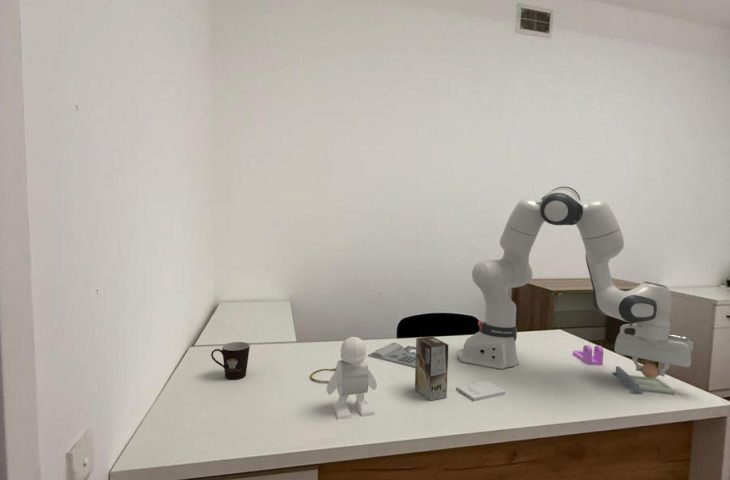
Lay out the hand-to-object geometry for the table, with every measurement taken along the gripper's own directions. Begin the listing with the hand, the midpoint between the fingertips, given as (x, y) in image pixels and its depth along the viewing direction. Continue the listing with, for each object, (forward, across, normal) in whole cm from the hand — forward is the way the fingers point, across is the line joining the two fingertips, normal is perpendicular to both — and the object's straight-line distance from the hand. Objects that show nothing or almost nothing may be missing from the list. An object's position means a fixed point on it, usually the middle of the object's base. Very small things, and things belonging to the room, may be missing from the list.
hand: (649, 373), depth 126 cm
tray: (+4, 0, 0) cm, 5 cm away
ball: (+2, 0, 0) cm, 2 cm away
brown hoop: (+5, +82, +65) cm, 105 cm away
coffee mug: (+5, +106, +88) cm, 138 cm away
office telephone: (+5, +75, +31) cm, 82 cm away
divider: (+4, +6, +2) cm, 8 cm away
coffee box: (+5, +51, +54) cm, 75 cm away
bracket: (+5, +21, -15) cm, 26 cm away
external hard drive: (+5, +40, +43) cm, 59 cm away
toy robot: (+5, +62, +78) cm, 100 cm away
